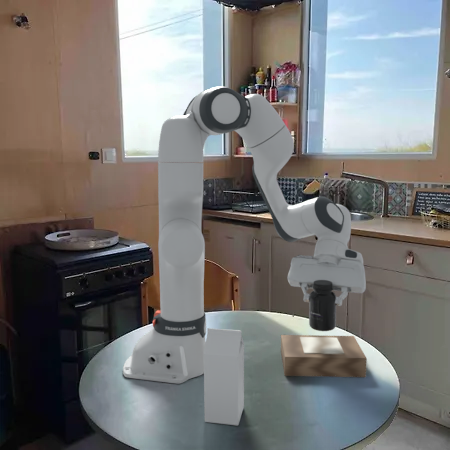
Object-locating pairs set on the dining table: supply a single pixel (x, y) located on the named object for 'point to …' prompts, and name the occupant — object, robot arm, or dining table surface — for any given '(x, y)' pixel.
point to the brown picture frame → (322, 356)
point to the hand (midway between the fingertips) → (322, 302)
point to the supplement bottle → (322, 306)
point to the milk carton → (223, 376)
